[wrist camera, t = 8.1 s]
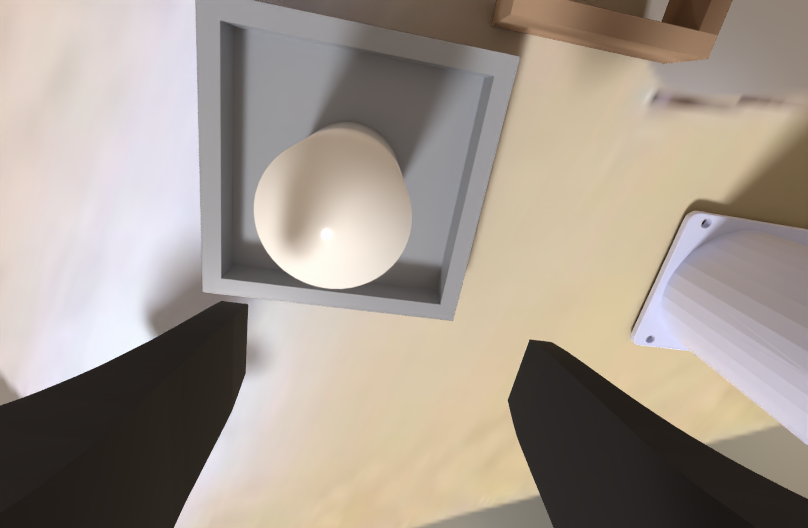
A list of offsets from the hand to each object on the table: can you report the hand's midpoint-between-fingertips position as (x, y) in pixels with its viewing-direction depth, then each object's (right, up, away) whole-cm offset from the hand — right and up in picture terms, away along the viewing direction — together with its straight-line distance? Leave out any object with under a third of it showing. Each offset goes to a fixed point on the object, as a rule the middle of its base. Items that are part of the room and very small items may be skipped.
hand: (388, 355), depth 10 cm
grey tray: (-2, +6, +8) cm, 11 cm away
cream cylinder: (-2, +6, +8) cm, 10 cm away
